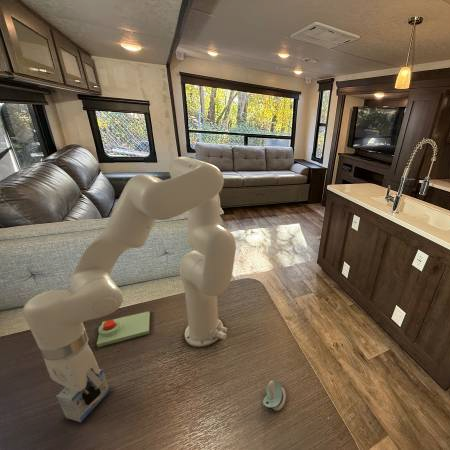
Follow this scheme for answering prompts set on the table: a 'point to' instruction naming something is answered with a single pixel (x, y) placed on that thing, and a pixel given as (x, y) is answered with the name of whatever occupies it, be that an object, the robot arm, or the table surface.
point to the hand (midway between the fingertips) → (85, 394)
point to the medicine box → (80, 401)
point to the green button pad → (125, 329)
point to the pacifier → (274, 395)
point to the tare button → (109, 325)
